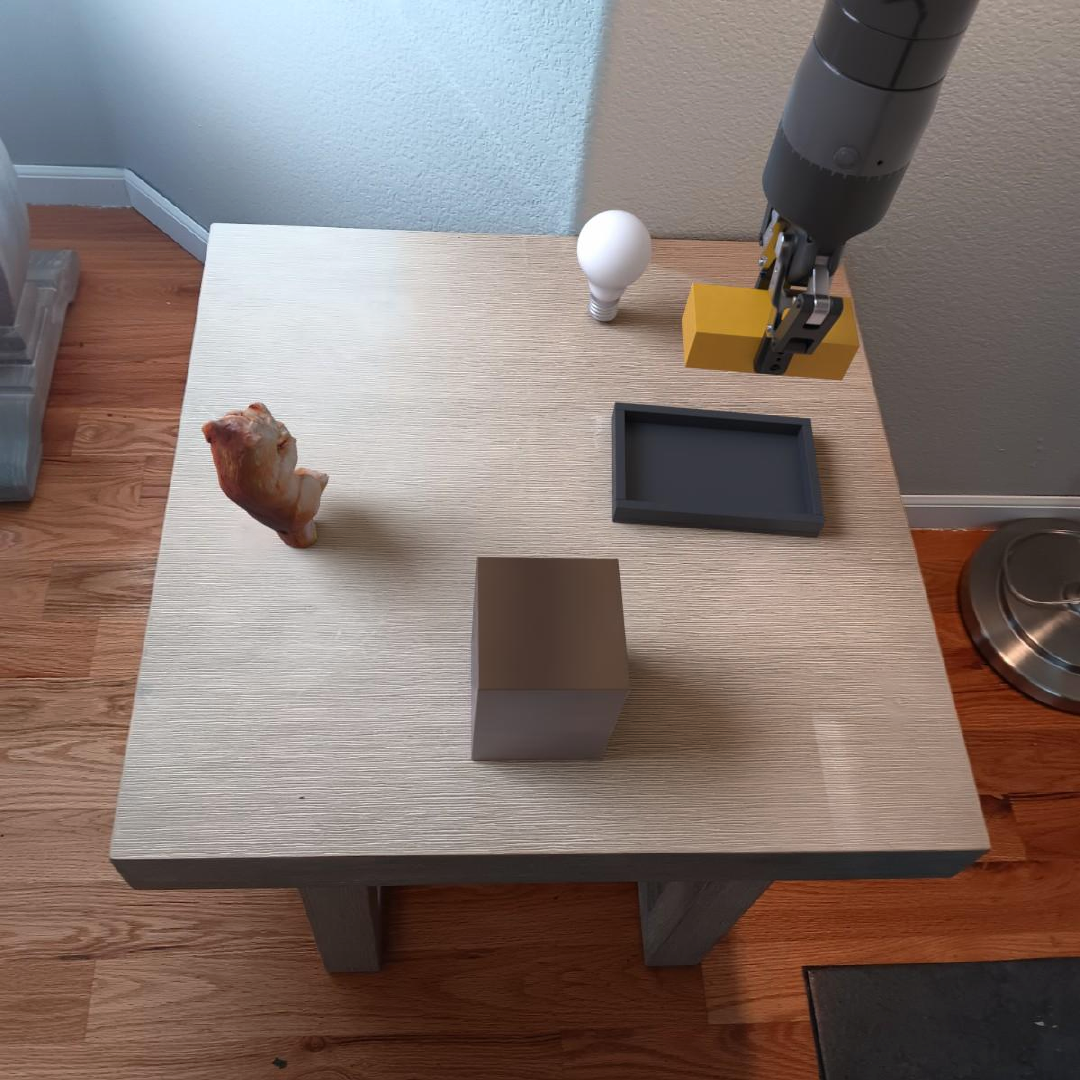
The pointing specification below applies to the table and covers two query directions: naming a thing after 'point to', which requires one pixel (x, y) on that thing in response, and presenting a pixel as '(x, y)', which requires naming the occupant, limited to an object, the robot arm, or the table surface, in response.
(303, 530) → the figurine
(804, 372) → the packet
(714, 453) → the tray
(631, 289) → the table surface
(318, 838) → the table surface
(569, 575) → the stand
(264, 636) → the table surface
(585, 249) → the lightbulb
